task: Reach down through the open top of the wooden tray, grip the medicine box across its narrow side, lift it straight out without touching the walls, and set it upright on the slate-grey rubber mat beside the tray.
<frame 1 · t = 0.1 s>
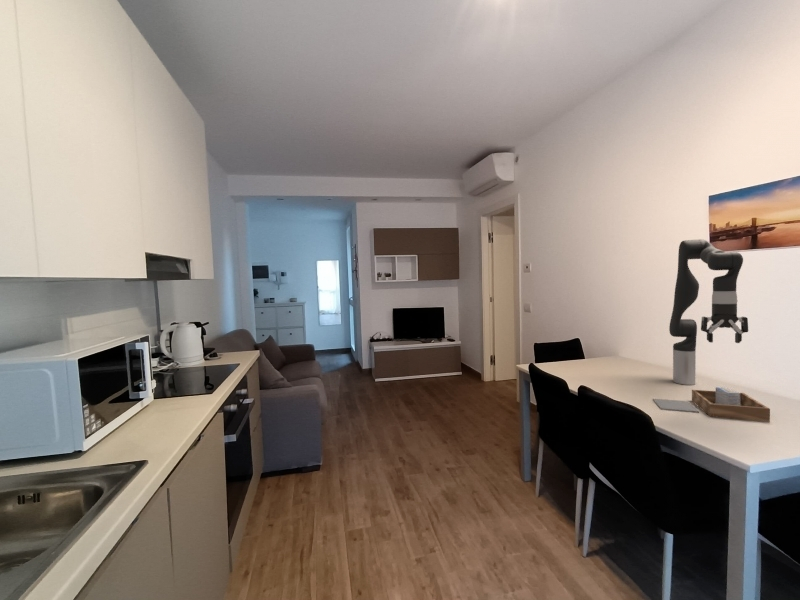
hand: (723, 342, 145), 29 cm above the table, fingers open, 8 cm apart
slate mat: (674, 405, 156), on the table
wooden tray: (727, 410, 149), on the table
medicine box: (727, 410, 149), resting in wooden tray
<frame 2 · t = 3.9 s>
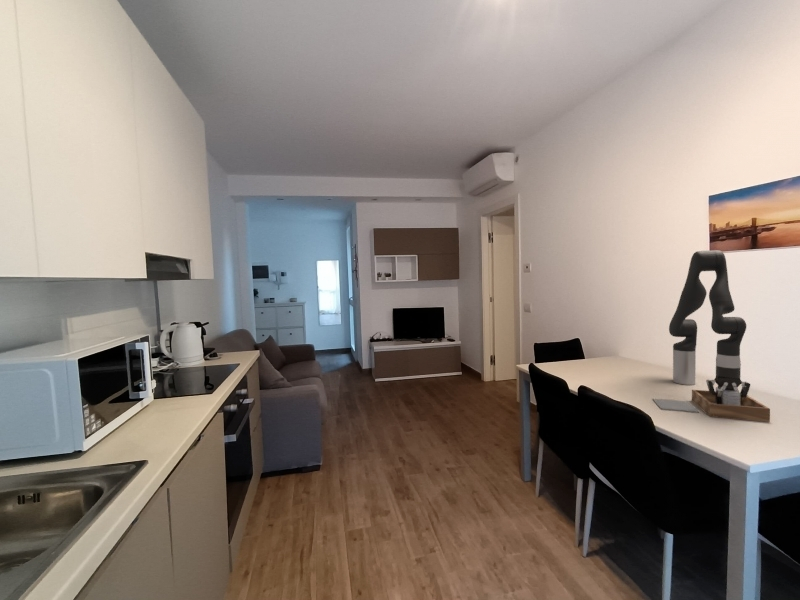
hand: (727, 405, 149), 2 cm above the table, fingers closed on medicine box, 5 cm apart
medicine box: (727, 410, 149), resting in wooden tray, touching gripper
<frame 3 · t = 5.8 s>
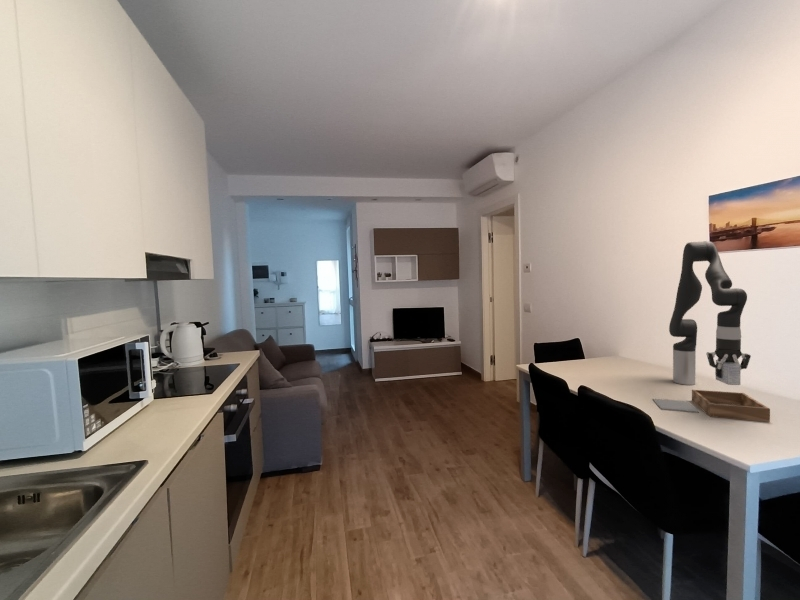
hand: (727, 377, 148), 14 cm above the table, fingers closed on medicine box, 5 cm apart
medicine box: (727, 382, 149), point 11 cm above the table, touching gripper
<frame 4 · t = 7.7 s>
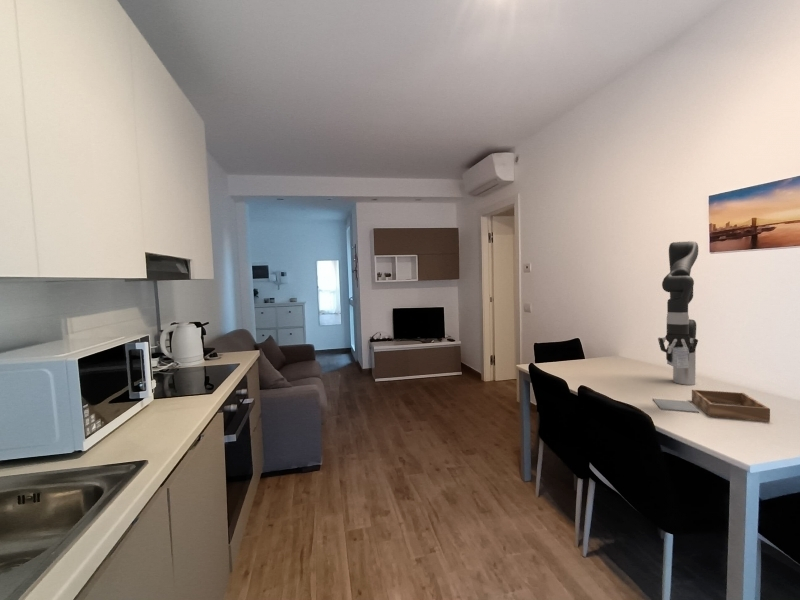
hand: (677, 361, 154), 19 cm above the table, fingers closed on medicine box, 5 cm apart
medicine box: (677, 366, 154), point 17 cm above the table, touching gripper
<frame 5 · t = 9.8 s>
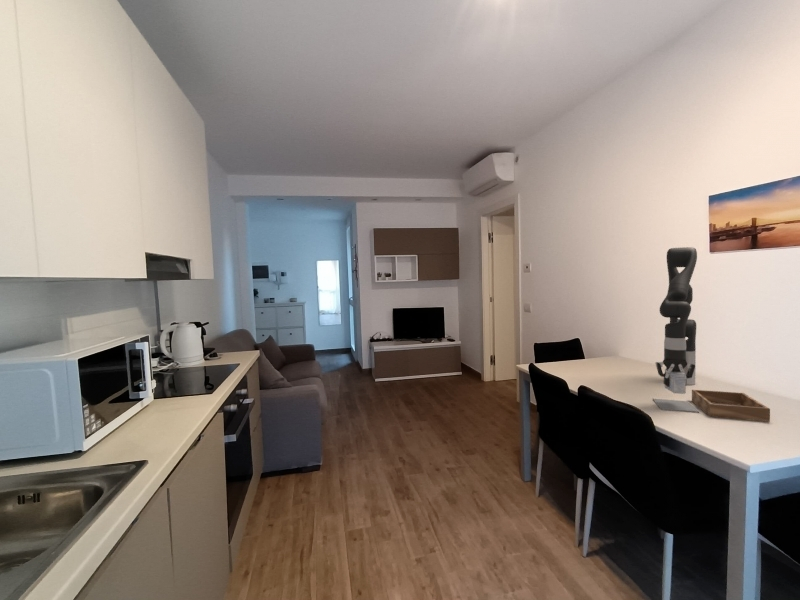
hand: (674, 386, 155), 9 cm above the table, fingers closed on medicine box, 5 cm apart
medicine box: (674, 391, 155), point 6 cm above the table, touching gripper
when the fingers open (3 cm above the table, at t = 11.8 s): medicine box stays where it is, resting on slate mat.
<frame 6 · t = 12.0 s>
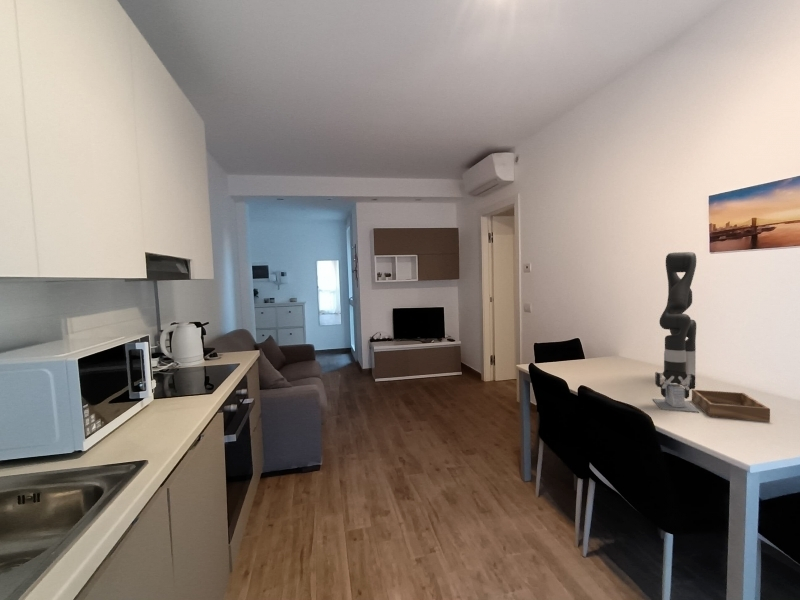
hand: (674, 397, 156), 4 cm above the table, fingers open, 7 cm apart
medicine box: (674, 405, 156), resting on slate mat
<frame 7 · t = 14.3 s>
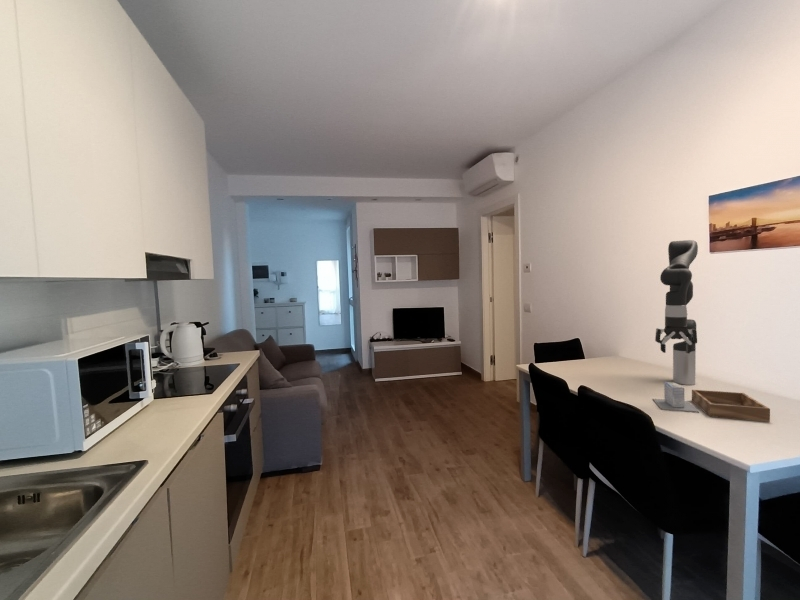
hand: (675, 352, 155), 23 cm above the table, fingers open, 8 cm apart
nothing on the table moved.
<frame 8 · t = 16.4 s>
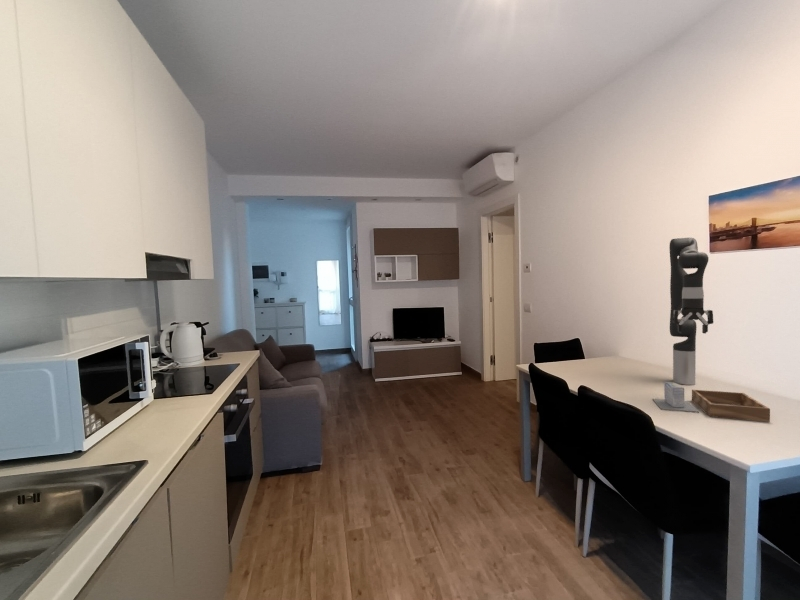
hand: (692, 333, 162), 30 cm above the table, fingers open, 8 cm apart
nothing on the table moved.
at the end: medicine box inside the target area on the slate mat (0.2 cm from its centre), point 0.4 cm above the slate mat's base; medicine box tilted 0°; the gripper is holding nothing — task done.
